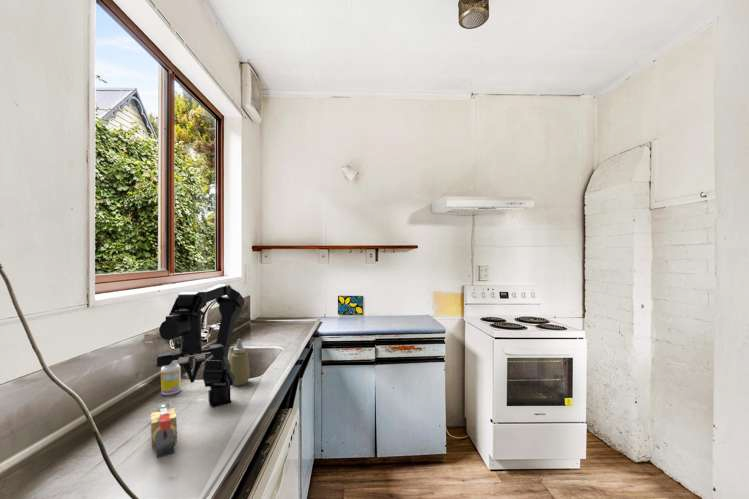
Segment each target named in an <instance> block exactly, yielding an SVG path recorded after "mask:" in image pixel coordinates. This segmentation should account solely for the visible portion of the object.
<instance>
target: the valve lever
mask: <svg viewBox="0 0 749 499" xmlns="http://www.w3.org/2000/svg"><path fill="white" fill-rule="evenodd" d="M168 409H170V403H168V402H165V403H161V404H159V405H158V404H157V405H156V410H157V412H160V414H161V415H160V431H163V430H167V429H171V426H170V415H169V413H168V412H167V410H168Z"/></svg>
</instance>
